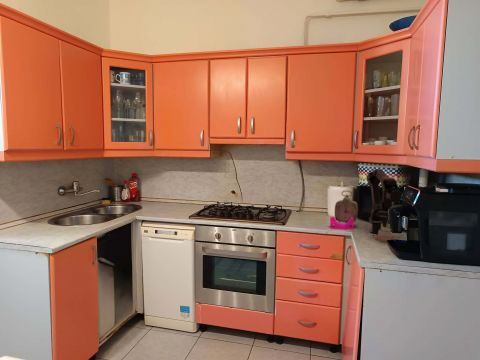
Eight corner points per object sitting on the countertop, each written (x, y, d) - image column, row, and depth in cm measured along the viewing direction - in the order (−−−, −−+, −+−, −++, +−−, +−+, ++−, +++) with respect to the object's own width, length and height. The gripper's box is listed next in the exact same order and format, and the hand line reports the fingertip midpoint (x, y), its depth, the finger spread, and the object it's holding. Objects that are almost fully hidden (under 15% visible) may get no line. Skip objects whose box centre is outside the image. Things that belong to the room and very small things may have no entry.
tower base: (380, 237, 193) (380, 232, 193) (395, 240, 187) (396, 235, 187) (375, 240, 186) (375, 235, 186) (391, 243, 180) (391, 238, 180)
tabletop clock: (334, 226, 220) (335, 190, 218) (336, 223, 228) (337, 189, 226) (356, 228, 213) (357, 191, 211) (357, 225, 221) (358, 190, 219)
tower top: (379, 233, 191) (380, 228, 191) (392, 235, 187) (392, 230, 187) (378, 236, 185) (378, 231, 185) (391, 237, 181) (391, 232, 181)
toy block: (329, 229, 212) (330, 218, 212) (330, 227, 218) (330, 216, 218) (353, 230, 208) (353, 219, 207) (353, 228, 214) (353, 217, 213)
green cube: (383, 229, 189) (383, 221, 189) (391, 230, 186) (391, 223, 186) (380, 230, 186) (381, 223, 185) (389, 231, 183) (389, 224, 182)
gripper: (379, 196, 196) (378, 221, 198) (368, 200, 182) (367, 226, 184) (398, 198, 189) (397, 224, 190) (388, 202, 175) (387, 229, 176)
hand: (386, 225), depth 185 cm, fingers open, 9 cm apart
